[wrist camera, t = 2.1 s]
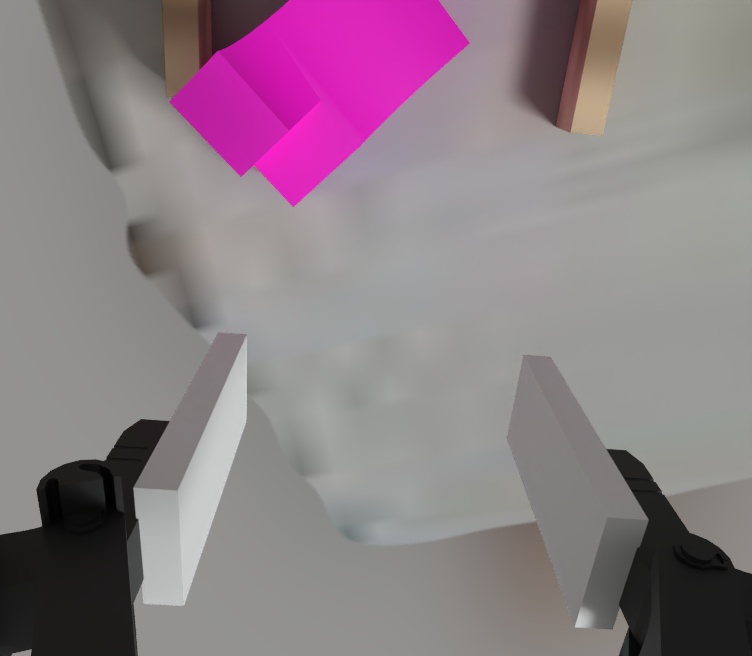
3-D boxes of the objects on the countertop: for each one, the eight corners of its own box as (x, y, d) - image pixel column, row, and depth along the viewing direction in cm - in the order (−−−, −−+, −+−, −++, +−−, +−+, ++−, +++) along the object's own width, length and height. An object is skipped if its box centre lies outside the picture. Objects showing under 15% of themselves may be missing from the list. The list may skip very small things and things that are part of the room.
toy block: (303, 188, 32) (284, 223, 25) (214, 91, 30) (169, 101, 24) (538, -29, 28) (592, -56, 22) (454, -155, 27) (484, -229, 20)
